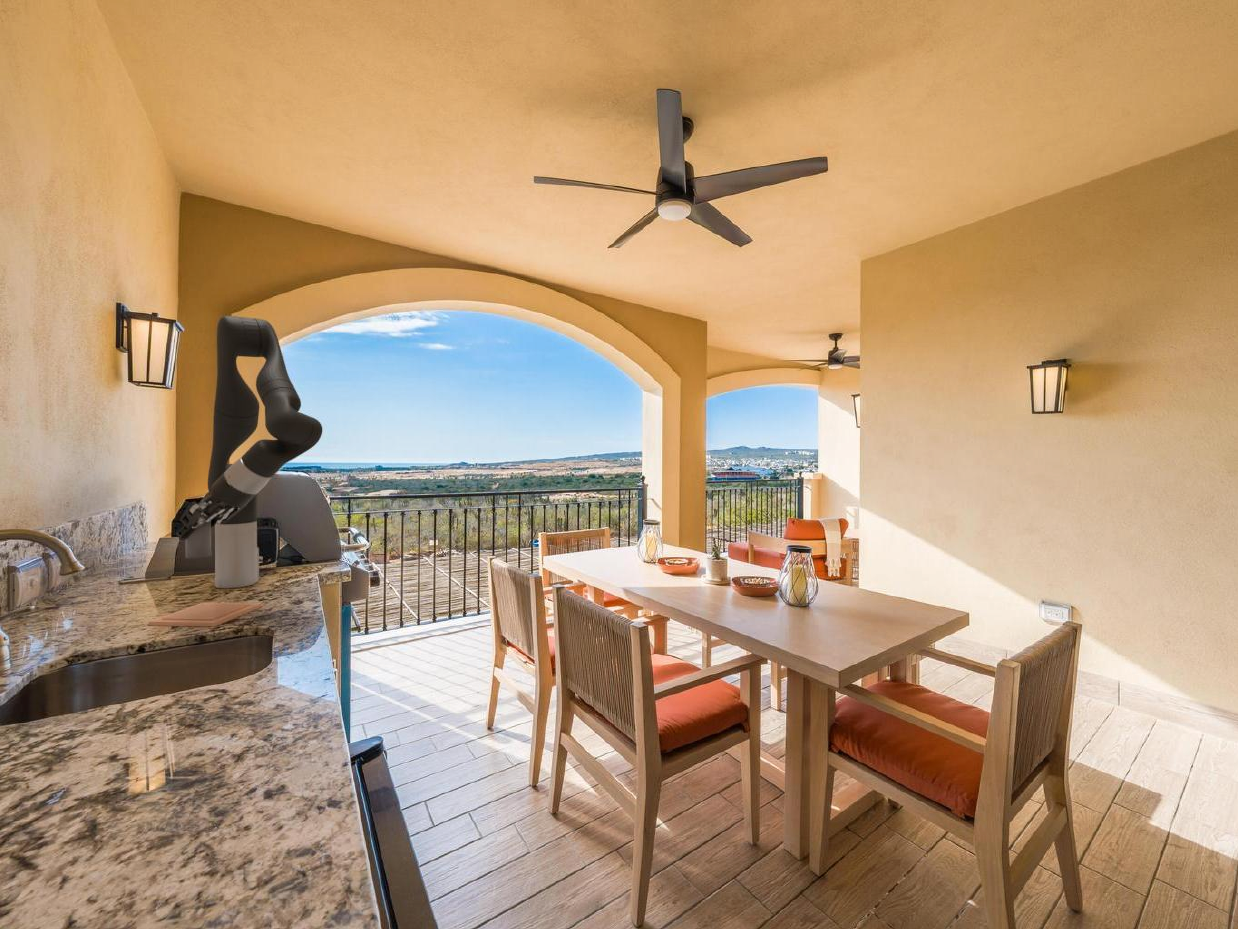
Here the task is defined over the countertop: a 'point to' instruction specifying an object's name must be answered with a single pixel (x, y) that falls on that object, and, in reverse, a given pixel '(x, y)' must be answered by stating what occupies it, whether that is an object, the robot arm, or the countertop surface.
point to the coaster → (205, 614)
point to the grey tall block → (199, 541)
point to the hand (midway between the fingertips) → (189, 535)
